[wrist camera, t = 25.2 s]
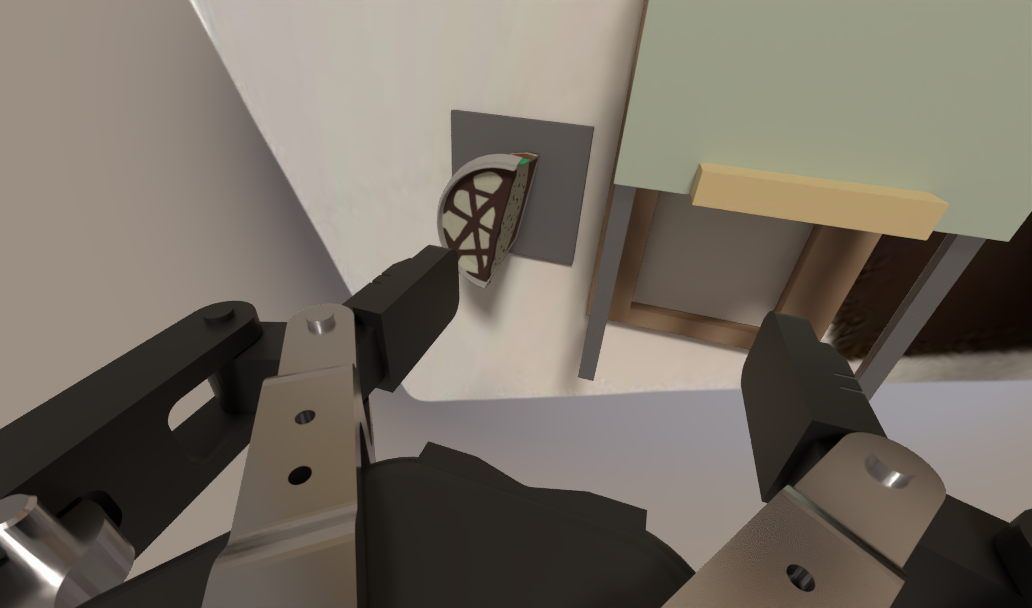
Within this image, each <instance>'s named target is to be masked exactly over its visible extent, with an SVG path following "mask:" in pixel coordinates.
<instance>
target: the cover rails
mask: <svg viewBox="0 0 1032 608" xmlns="http://www.w3.org/2000/svg"><path fill="white" fill-rule="evenodd" d="M636 188H637V187H633V186H626V185H619V184H616V185H615V190H614V195H613V200H612V206H611V211H610V216H609V221H608V226H607V231H606V236H605V241H604V247H603V252H602V257H601V262H600V267H599V272H598V277H597V282H596V287H595V293H594V298H593V303H592V308H591V313H590V318H589V323H588V328H587V334H586V339H585V344H584V349H583V354H582V359H581V364H580V369H579V374H578V377H579V378H583V379H587V380H592V381H593V380H594V376H595V371H596V367H597V362H598V358H599V353H600V349H601V344H602V340H603V335H604V331H605V326H606V322H607V317H608V313H609V309H610V304H611V300H612V295H613V291H614V286H615V282H616V277H617V273H618V268H619V264H620V259H621V255H622V250H623V246H624V241H625V237H626V232H627V228H628V223H629V219H630V214H631V210H632V205H633V201H634V196H635V192H636ZM986 239H987V238H980V237H973V236H966V235H960V234H953V233H948V235H947V236H946V238H945V239H944V241H943V242H942V244H941V245H940V247H939V248H938V250H937V251H936V253H935V254H934V256H933V257H932V259H931V260H930V262H929V263H928V265H927V266H926V268H925V269H924V271H923V272H922V274H921V275H920V277H919V278H918V280H917V281H916V283H915V284H914V286H913V287H912V289H911V290H910V292H909V293H908V295H907V296H906V298H905V299H904V301H903V302H902V304H901V305H900V307H899V308H898V310H897V311H896V313H895V314H894V316H893V317H892V319H891V320H890V322H889V323H888V325H887V326H886V328H885V329H884V331H883V332H882V334H881V335H880V337H879V338H878V340H877V341H876V343H875V344H874V346H873V347H872V349H871V350H870V352H869V353H868V355H867V356H866V358H865V359H864V361H863V362H862V364H861V365H860V367H859V368H858V370H857V371H856V373H855V374H854V375H855V380H857V381H858V383H859V385H860V387H861V389H862V390H863V391H862V394H865V396H866V398H867V400H868V402H869V400H870V399H871V398H872V396H873V395H874V393H875V392H876V391H877V389H878V388H879V386H880V385H881V384H882V382H883V381H884V380H885V378H886V377H887V375H888V374H889V373H890V371H891V370H892V369H893V367H894V366H895V364H896V363H897V362H898V360H899V359H900V358H901V356H902V355H903V353H904V352H905V351H906V349H907V348H908V347H909V345H910V344H911V342H912V341H913V340H914V338H915V337H916V335H917V334H918V333H919V331H920V330H921V329H922V327H923V326H924V324H925V323H926V322H927V320H928V319H929V318H930V316H931V315H932V313H933V312H934V311H935V309H936V308H937V307H938V305H939V304H940V302H941V301H942V300H943V298H944V297H945V295H946V294H947V293H948V291H949V290H950V289H951V287H952V286H953V284H954V283H955V282H956V280H957V279H958V278H959V276H960V275H961V273H962V272H963V271H964V269H965V268H966V267H967V265H968V264H969V262H970V261H971V260H972V258H973V257H974V256H975V254H976V253H977V251H978V250H979V249H980V247H981V246H982V244H983V243H984V242H985V240H986Z"/></svg>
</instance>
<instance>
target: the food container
mask: <svg viewBox="0 0 1032 608" xmlns="http://www.w3.org/2000/svg"><path fill="white" fill-rule="evenodd" d="M539 158H540V154H537V153H533V152H514V153H511V154H491V155H486V156H482V157H478V158H476V159H474V160H472V161H470V162H468V163H467V164H465V165H464V166H462V167H461V168H460V169H459V170H458V171H457V172H456V173H455V174H454V175H453V177H452V178H451V180H450V181H449V183H448V184H447V186H446V188H445V189H444V191H443V194H442V196H441V198H440V202H439V206H438V212H437V229H438V235H439V239H440V243H441V245H442V247H444V248H449V249H454V250H455V251H456V252H457V255H458V270H459V272H460V274H462V275H463V276H464V277H465V278H467V279H468V280H469V281H471V282H472V283H474V284H476V285H478V286H480V287H482V288H485V287H487V286H488V285H489V284H490V282H491V281H490V279H491V278H492V276H493V275H494V273H495V272H496V270H497V268H498V267H499V265H500V264H501V262H502V261H503V259H504V258H505V256H506V254H507V253H508V251H509V250H510V248H511V247H512V245H513V244H514V242H515V240H516V239H517V236H518V232H519V229H520V225H521V222H522V218H523V215H524V211H525V208H526V204H527V200H528V197H529V193H530V190H531V186H532V183H533V179H534V176H535V172H536V168H537V165H538V161H539Z"/></svg>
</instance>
